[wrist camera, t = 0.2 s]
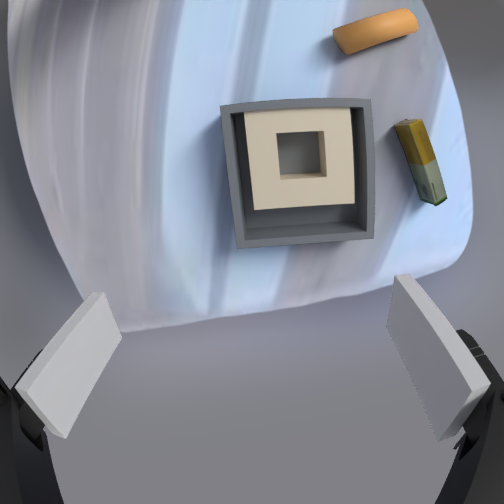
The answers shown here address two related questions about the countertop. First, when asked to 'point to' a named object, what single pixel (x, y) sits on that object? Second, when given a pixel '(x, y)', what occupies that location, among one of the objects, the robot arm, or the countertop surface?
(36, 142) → the countertop surface
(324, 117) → the box
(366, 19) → the peg
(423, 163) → the medication box
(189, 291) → the countertop surface
